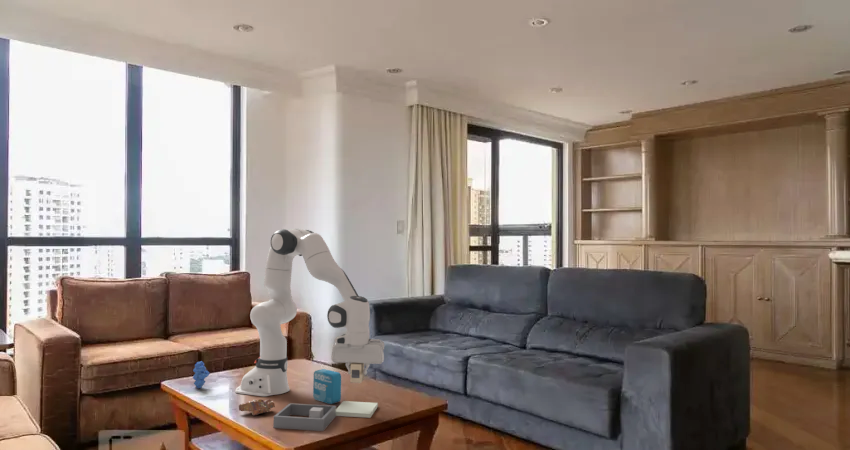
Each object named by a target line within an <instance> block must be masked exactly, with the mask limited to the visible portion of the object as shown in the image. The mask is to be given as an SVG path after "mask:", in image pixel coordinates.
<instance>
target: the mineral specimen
mask: <svg viewBox="0 0 850 450" xmlns="http://www.w3.org/2000/svg"><path fill="white" fill-rule="evenodd" d="M274 407H275V402H274V400H272V399H270V398H269V399H265V400H264V399H261V398H258V399H253V400H251V401H247V402H245V403H240V404H238V411H240V412H249V413H250V412H251V415H252V416H258V415H261V414H267V413H268V412H270V411H271V409H272V408H274Z"/></svg>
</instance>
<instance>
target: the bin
mask: <svg viewBox="0 0 850 450" xmlns="http://www.w3.org/2000/svg"><path fill="white" fill-rule="evenodd" d="M313 407H319V408H323V417H322V418H309V410H310V409H311V408H313ZM336 409H337V405H330V404H328V405H327V404H311V403H310V404H306V403H295V402H294V403H293V402H291V403H288V404H286V405H285V406H284V407H283V408H282V409H281V410H279V411H278V412H277V413H276V414H274V415H273V425H272V426H273V429H285V430H287V429H288V430H303V431H315V432H316V431H317V432H319V431H320V432H324V431H325V430H326V428H327V427H328V426H329V425H330V424H331V422H332V421H333V420H334V419H335V418H336V417H337V416H336ZM303 416H304V417H303Z"/></svg>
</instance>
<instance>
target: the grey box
mask: <svg viewBox="0 0 850 450" xmlns="http://www.w3.org/2000/svg"><path fill="white" fill-rule="evenodd" d="M322 417H323V408H319V407H313V408H311V409H310V410H309V416H308V418H322Z"/></svg>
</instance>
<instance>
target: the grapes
mask: <svg viewBox="0 0 850 450" xmlns="http://www.w3.org/2000/svg"><path fill="white" fill-rule="evenodd" d="M192 372H194V374H193V376H192V379H193V380H194V381H193V384H194V386H195V387H196V388H197V389H199V388H200V389H202V387H203V386H205V383H206V380H205V379H206V378H208V376H209V375H210V374H211V373H210V372H209V371H208V369H207V367H206V366H205V363H204V361H202V360H201V361H197V362H196V363H195V364H194V368H193V370H192Z"/></svg>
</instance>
